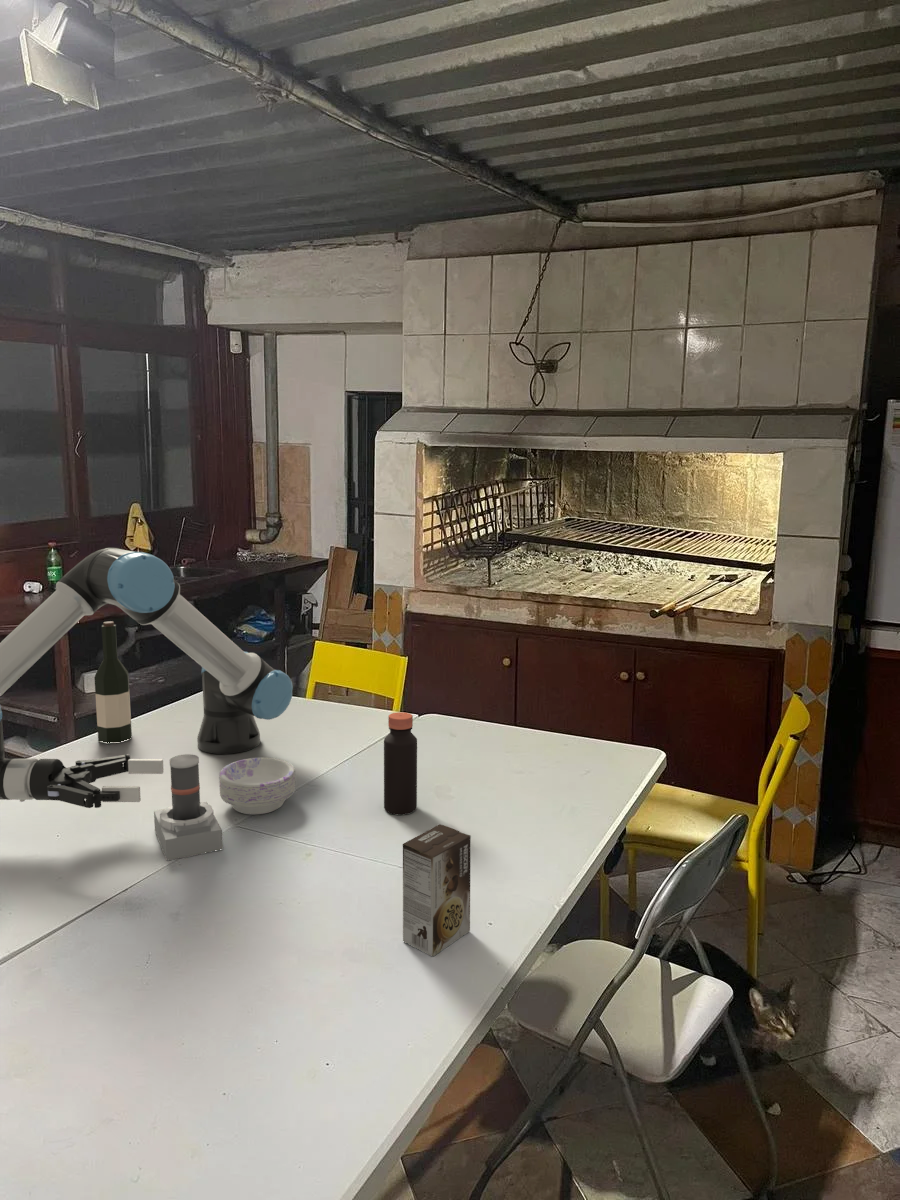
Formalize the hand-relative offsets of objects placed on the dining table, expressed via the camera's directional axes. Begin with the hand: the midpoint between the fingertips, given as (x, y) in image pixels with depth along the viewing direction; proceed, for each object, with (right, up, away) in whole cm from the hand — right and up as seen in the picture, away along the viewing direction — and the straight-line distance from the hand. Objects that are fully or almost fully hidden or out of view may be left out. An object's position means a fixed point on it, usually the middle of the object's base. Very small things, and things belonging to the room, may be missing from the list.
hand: (151, 779), depth 163 cm
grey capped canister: (+6, -8, +2) cm, 10 cm away
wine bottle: (-29, -2, +58) cm, 65 cm away
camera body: (+6, -12, +2) cm, 14 cm away
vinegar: (+45, -10, +18) cm, 50 cm away
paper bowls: (+16, -9, +18) cm, 26 cm away
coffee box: (+54, -18, -29) cm, 64 cm away
